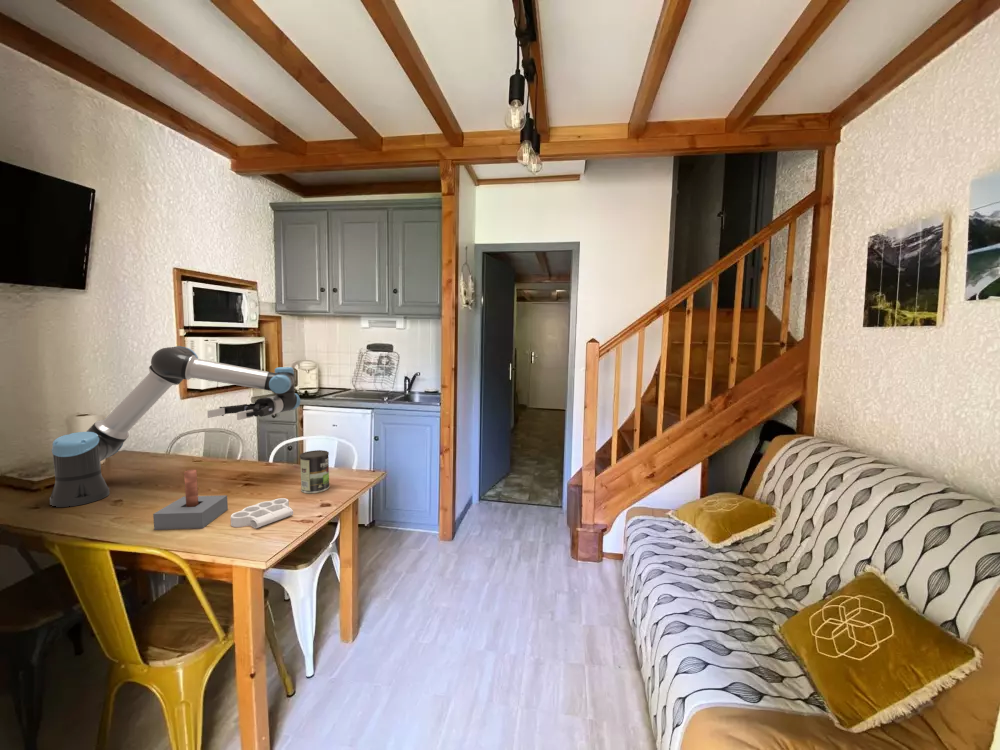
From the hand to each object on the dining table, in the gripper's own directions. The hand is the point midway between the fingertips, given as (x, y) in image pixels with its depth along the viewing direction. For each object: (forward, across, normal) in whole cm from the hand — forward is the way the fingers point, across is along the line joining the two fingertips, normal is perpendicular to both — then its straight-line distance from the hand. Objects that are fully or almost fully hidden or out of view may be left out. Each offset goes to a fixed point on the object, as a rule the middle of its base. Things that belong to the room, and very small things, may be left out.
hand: (222, 415), depth 154 cm
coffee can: (-14, -28, -30) cm, 43 cm away
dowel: (+20, -8, -30) cm, 37 cm away
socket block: (+20, -8, -30) cm, 37 cm away
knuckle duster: (+13, -29, -31) cm, 44 cm away
